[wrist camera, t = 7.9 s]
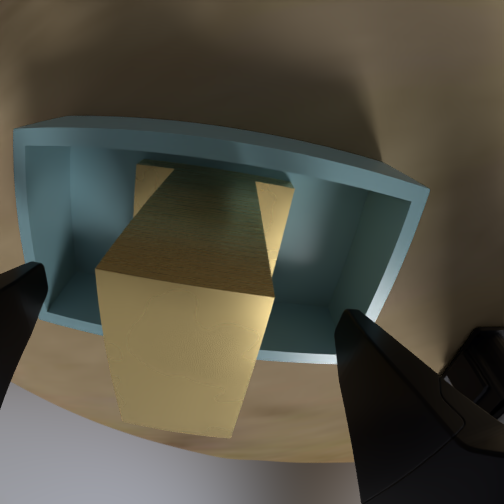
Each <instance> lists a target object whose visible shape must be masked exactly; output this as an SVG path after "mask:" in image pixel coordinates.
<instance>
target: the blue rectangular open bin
mask: <svg viewBox="0 0 504 504" xmlns="http://www.w3.org/2000/svg"><path fill="white" fill-rule="evenodd" d="M13 158H14V181H15V195H16V205H17V214H18V222H19V229H20V236H21V242H22V248H23V254H24V259H25V264H26V263H28V262H31V261H34V262H39V263H42V264H43V265H44V267H45V272H46V277H47V282H48V293H47V296H46V299H45V301H44V303H43V306H42V308H41V311H40V313H39V319H40V320H44V321H47V322H51V323H54V324H58V325H62V326H65V327H69V328H73V329H77V330H81V331H85V332H89V333H94V334H98V335H102V336H103V330H102V324H101V317H100V310H99V302H98V294H97V285H96V275H95V268H96V267H97V265H98V264H99V263H100V261H101V260H102V258H103V257H104V256H105V254H106V253H107V252H108V250H109V249H110V248H111V246H112V245H113V244H114V242H115V241H116V240H117V238H118V237H119V236H120V234H121V233H122V232H123V230H124V229H125V228H126V227H127V225H128V224H129V223H130V221H131V220H132V219H133V212H134V192H135V177H136V164H138V163H139V162H140V161H142V160H143V159H149V160H158V161H166V162H174V163H182V164H189V165H196V166H203V167H210V168H216V169H223V170H229V171H235V172H241V173H247V174H252V175H258V176H263V177H269V178H274V179H279V180H284V181H289V182H291V183H292V185H293V187H294V188H295V190H294V194H293V198H292V202H291V206H290V210H289V214H288V218H287V222H286V226H285V229H284V233H283V237H282V241H281V245H280V249H279V252H278V256H277V260H276V264H275V267H274V271H273V275H272V283H273V289H274V295H275V299H274V302H273V306H272V309H271V313H270V316H269V319H268V323H267V326H266V329H265V333H264V336H263V339H262V342H261V346H260V349H259V352H258V355H257V359H256V360H268V361H281V362H297V363H318V364H337V358H336V348H335V339H334V332H335V329H336V326H337V324H338V322H339V320H340V317H341V315H342V313H343V311H344V310H345V309H347V308H348V309H358V310H360V311H361V312H362V313H363V314H365V315H366V316H367V317H368V318H370V319H371V320H372V321H373V322H375V321H376V319H377V317H378V315H379V313H380V311H381V309H382V307H383V305H384V303H385V301H386V299H387V297H388V294H389V292H390V290H391V288H392V286H393V284H394V281H395V279H396V277H397V275H398V272H399V270H400V268H401V266H402V263H403V261H404V259H405V256H406V254H407V251H408V249H409V246H410V244H411V241H412V239H413V236H414V234H415V231H416V228H417V226H418V223H419V220H420V218H421V215H422V212H423V209H424V207H425V204H426V201H427V198H428V195H429V192H430V189H429V188H427V187H426V186H424V185H422V184H421V183H419V182H417V181H416V180H414V179H412V178H410V177H409V176H407V175H405V174H403V173H402V172H400V171H398V170H396V169H394V168H393V167H391V166H389V165H387V164H385V163H383V162H380V161H377V160H374V159H370V158H367V157H363V156H360V155H356V154H353V153H349V152H345V151H341V150H337V149H333V148H329V147H325V146H321V145H317V144H313V143H308V142H304V141H299V140H295V139H290V138H285V137H280V136H275V135H270V134H265V133H259V132H254V131H248V130H242V129H236V128H229V127H222V126H215V125H208V124H200V123H192V122H183V121H173V120H162V119H150V118H135V117H115V116H65V117H60V118H55V119H51V120H46V121H42V122H38V123H34V124H30V125H26V126H22V127H18V128H15V129H14V131H13Z"/></svg>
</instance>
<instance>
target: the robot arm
mask: <svg viewBox="0 0 504 504" xmlns="http://www.w3.org/2000/svg"><path fill="white" fill-rule="evenodd" d="M47 293H48V282H47V277H46V272H45V267H44V265H43V264H42V263H39V262H34V261H31V262H28V263H26V264H23V265H21V266H19V267H16V268H14V269H11V270H9V271H7V272H4V273H2V274H0V408H1V405H2V403H3V400H4V397H5V394H6V392H7V389H8V386H9V384H10V382H11V379H12V377H13V374H14V372H15V369H16V367H17V365H18V362H19V360H20V358H21V356H22V353H23V351H24V349H25V347H26V345H27V343H28V340H29V338H30V336H31V334H32V331H33V329H34V326H35V324H36V321H37V318H38V316H39V313H40V311H41V308H42V306H43V303H44V301H45V299H46V296H47ZM334 339H335V348H336V358H337V368H338V377H339V383H340V388H341V393H342V398H343V403H344V407H345V412H346V417H347V423H348V428H349V433H350V438H351V444H352V449H353V455H354V461H355V466H356V472H357V479H358V485H359V491H360V498H361V503H362V504H504V327H478V328H476V329H475V330H474V331H473V332H472V334H471V335H470V337H469V338H468V340H467V341H466V343H465V344H464V346H463V347H462V349H461V350H460V352H459V353H458V354H457V356H456V357H455V359H454V360H453V361H452V363H451V364H450V366H449V367H448V368H447V370H446V371H445V372H444V374H443V375H442V376H441V377H439V375H438V374H437V373H436V372H434V371H433V370H432V369H431V368H430V367H428V366H427V365H426V364H425V363H424V362H422V361H421V360H420V359H419V358H418V357H416V356H415V355H414V354H413V353H411V352H410V351H409V350H408V349H407V348H405V347H404V346H403V345H402V344H400V343H399V342H398V341H397V340H396V339H394V338H393V337H392V336H391V335H389V334H388V333H387V332H386V331H384V330H383V329H382V328H381V327H380V326H378V325H377V324H376V323H375V322H373V321H372V320H371V319H370V318H368V317H367V316H366V315H365V314H363V313H362V312H361V311H360V310H358V309H348V308H347V309H345V310H344V311H343V313H342V315H341V317H340V320H339V322H338V324H337V326H336V329H335V332H334Z"/></svg>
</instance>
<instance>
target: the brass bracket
mask: <svg viewBox="0 0 504 504" xmlns="http://www.w3.org/2000/svg"><path fill="white" fill-rule="evenodd" d="M294 190H295V188H294V187H293V185H292V183H291V182H289V181H284V180H279V179H274V178H269V177H263V176H258V175H252V174H247V173H241V172H235V171H229V170H223V169H216V168H210V167H203V166H196V165H189V164H182V163H174V162H166V161H158V160H149V159H143V160H142V161H140V162H139V163H138V164H136V177H135V192H134V212H133V219H132V220H131V221H130V223H129V224H128V225H127V227H126V228H125V229H124V230H123V232H122V233H121V234H120V236H119V237H118V238H117V240H116V241H115V242H114V244H113V245H112V246H111V248H110V249H109V250H108V252H107V253H106V254H105V256H104V257H103V258H102V260H101V261H100V263H99V264H98V265H97V267H96V268H95V275H96V285H97V294H98V302H99V310H100V317H101V324H102V330H103V336H104V342H105V348H106V353H107V358H108V363H109V368H110V373H111V378H112V382H113V386H114V391H115V395H116V399H117V403H118V407H119V410H120V414H121V418H122V421H123V422H127V423H131V424H136V425H140V426H145V427H150V428H156V429H161V430H167V431H173V432H179V433H186V434H193V435H201V436H210V437H220V438H231V436H232V433H233V430H234V427H235V424H236V421H237V418H238V415H239V412H240V409H241V406H242V403H243V400H244V396H245V393H246V390H247V387H248V384H249V381H250V378H251V375H252V371H253V368H254V365H255V362H256V359H257V355H258V352H259V349H260V346H261V342H262V339H263V336H264V333H265V329H266V326H267V323H268V319H269V316H270V313H271V309H272V306H273V302H274V299H275V295H274V289H273V283H272V275H273V271H274V267H275V264H276V260H277V256H278V252H279V249H280V245H281V241H282V237H283V233H284V229H285V226H286V222H287V218H288V214H289V210H290V206H291V202H292V198H293V194H294Z"/></svg>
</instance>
